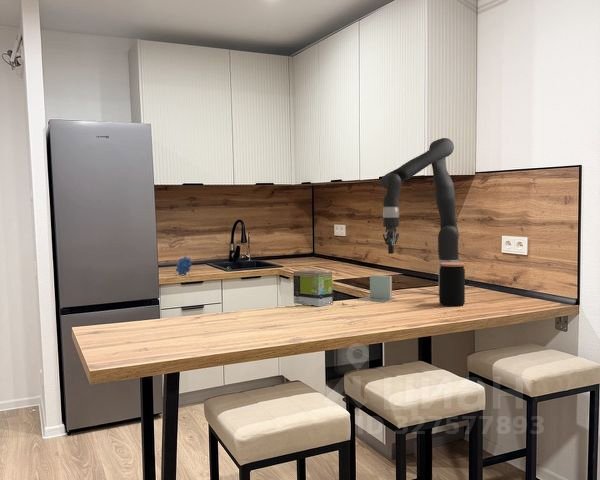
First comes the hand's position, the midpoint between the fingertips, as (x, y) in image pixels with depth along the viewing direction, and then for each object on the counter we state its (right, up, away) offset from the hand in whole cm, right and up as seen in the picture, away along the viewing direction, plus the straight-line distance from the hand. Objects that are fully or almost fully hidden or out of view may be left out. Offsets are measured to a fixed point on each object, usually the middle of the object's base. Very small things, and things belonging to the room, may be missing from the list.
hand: (391, 253), depth 265 cm
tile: (-6, -20, -8) cm, 22 cm away
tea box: (-37, -22, -15) cm, 46 cm away
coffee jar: (+23, -22, -20) cm, 38 cm away
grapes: (-120, -17, +109) cm, 163 cm away
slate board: (-9, -22, -12) cm, 26 cm away
